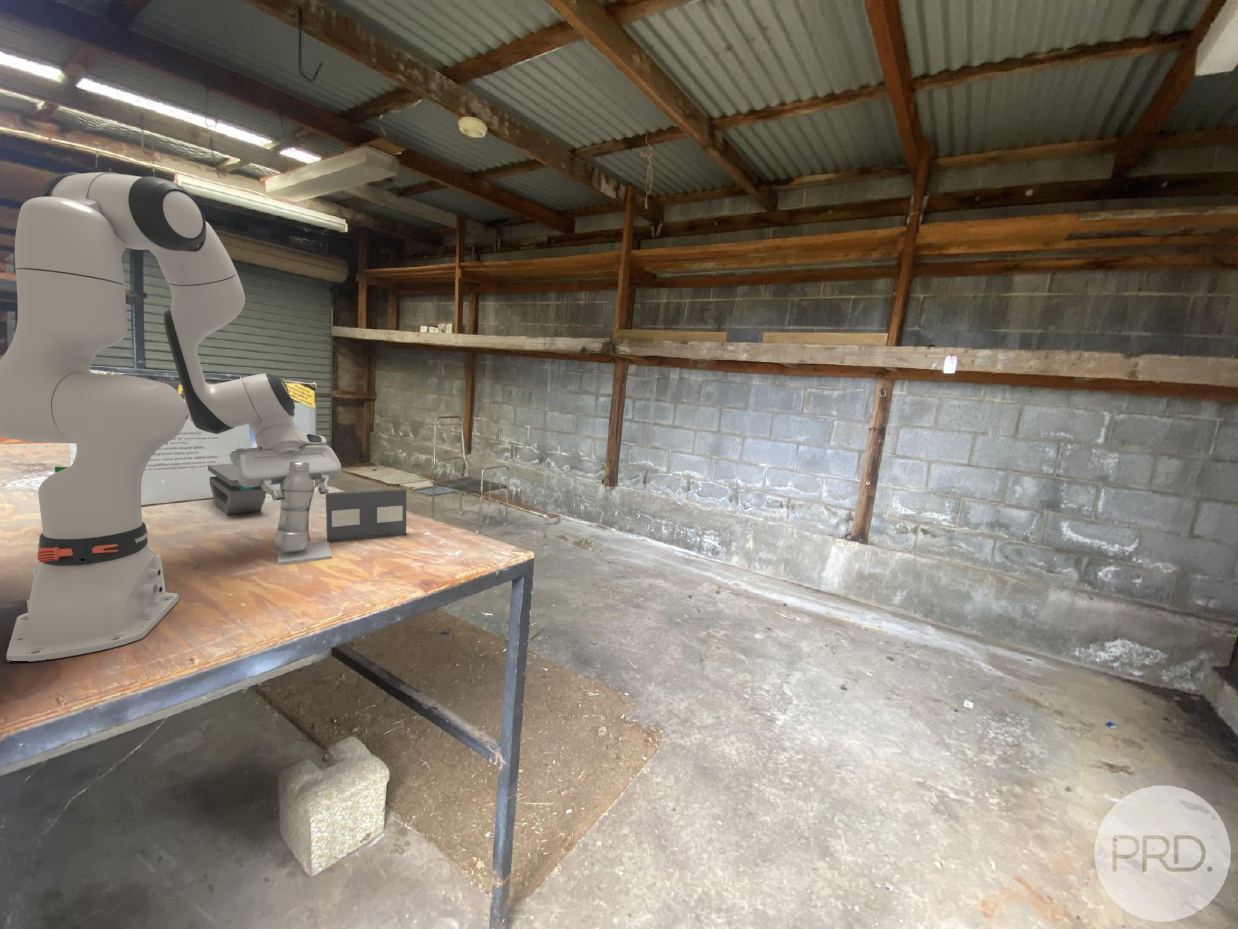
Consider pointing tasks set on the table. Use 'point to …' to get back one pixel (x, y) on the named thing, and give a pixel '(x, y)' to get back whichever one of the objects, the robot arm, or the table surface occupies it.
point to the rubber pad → (306, 554)
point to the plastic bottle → (295, 509)
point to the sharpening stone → (233, 491)
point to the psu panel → (365, 514)
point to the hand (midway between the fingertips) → (302, 495)
